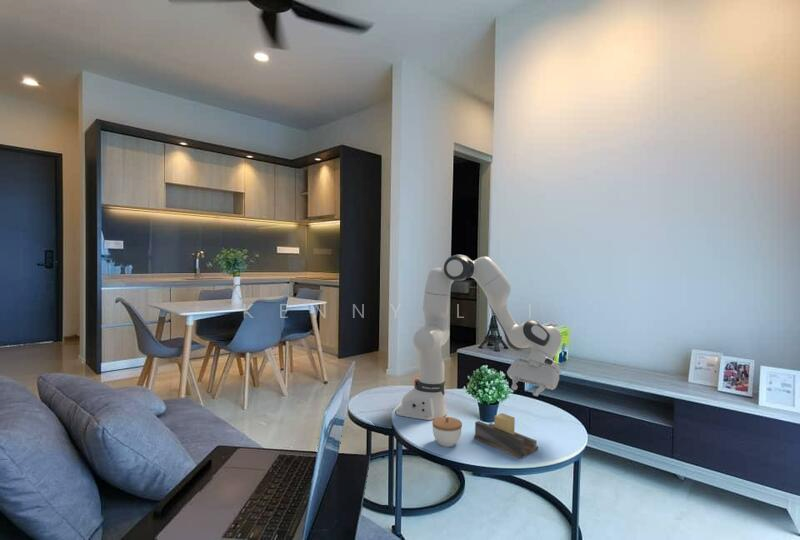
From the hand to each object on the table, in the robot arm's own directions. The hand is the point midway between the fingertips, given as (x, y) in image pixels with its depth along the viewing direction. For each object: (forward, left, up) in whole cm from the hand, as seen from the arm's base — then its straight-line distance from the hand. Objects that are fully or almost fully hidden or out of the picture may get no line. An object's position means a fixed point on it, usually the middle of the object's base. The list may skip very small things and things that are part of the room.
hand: (523, 391), depth 155 cm
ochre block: (-8, -9, -16) cm, 20 cm away
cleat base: (-7, -9, -17) cm, 20 cm away
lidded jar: (-28, -13, -17) cm, 35 cm away
